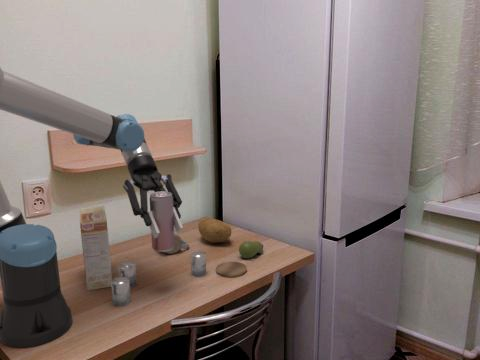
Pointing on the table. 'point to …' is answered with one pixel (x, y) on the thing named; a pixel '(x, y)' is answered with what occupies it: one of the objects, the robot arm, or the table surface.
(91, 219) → the coffeecake box
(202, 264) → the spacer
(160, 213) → the beverage can
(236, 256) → the table surface
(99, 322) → the table surface
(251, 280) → the table surface
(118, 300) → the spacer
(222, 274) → the coaster
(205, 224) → the potato
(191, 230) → the table surface
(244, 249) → the pear
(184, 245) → the ceramic mug
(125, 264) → the cylinder
